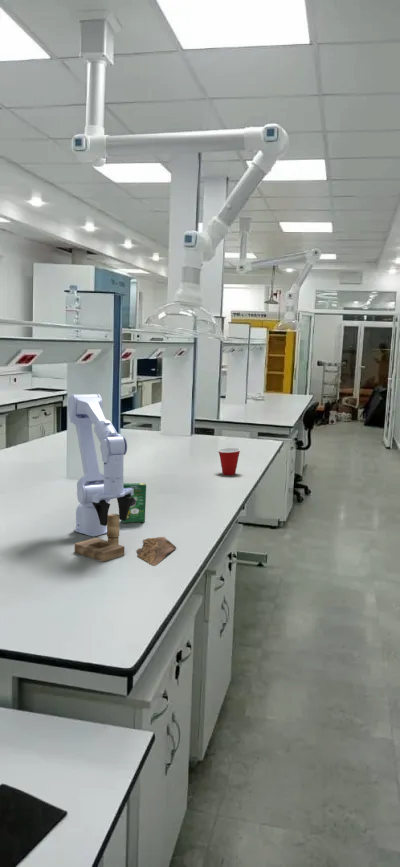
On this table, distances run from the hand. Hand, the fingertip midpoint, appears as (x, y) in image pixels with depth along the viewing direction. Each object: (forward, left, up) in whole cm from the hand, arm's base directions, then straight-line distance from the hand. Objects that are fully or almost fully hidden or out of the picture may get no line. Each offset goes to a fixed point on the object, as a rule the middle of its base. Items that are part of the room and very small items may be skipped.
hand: (113, 522), depth 191 cm
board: (+3, -8, -7) cm, 11 cm away
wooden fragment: (+13, +5, -7) cm, 16 cm away
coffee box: (-14, +22, -7) cm, 27 cm away
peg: (0, 0, -7) cm, 7 cm away
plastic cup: (-41, +110, -7) cm, 118 cm away
